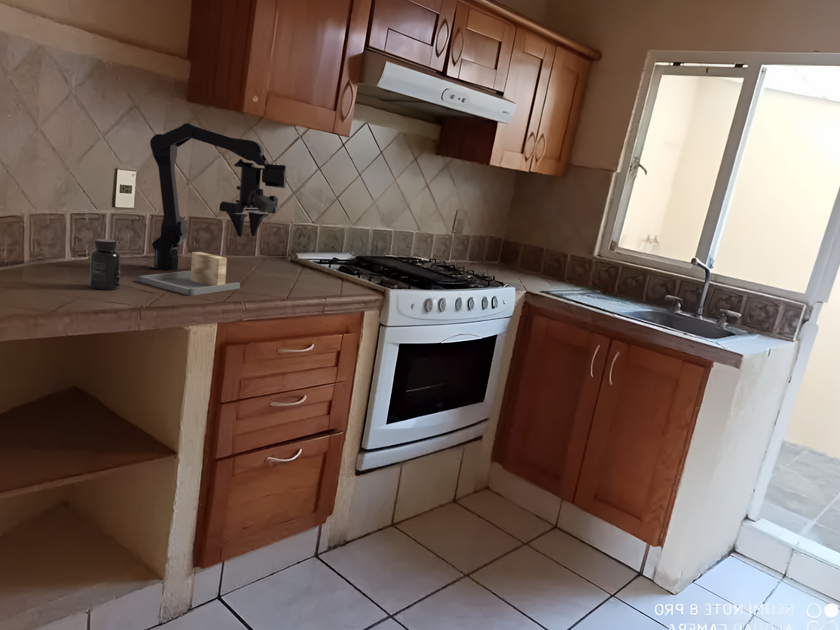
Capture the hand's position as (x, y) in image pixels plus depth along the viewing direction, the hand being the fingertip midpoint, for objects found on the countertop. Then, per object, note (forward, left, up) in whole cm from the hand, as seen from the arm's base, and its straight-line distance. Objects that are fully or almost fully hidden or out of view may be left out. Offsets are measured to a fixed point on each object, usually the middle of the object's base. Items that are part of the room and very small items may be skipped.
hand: (246, 236), depth 188 cm
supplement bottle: (-8, -42, -13) cm, 45 cm away
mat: (+2, -23, -13) cm, 26 cm away
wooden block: (+2, -17, -12) cm, 21 cm away
